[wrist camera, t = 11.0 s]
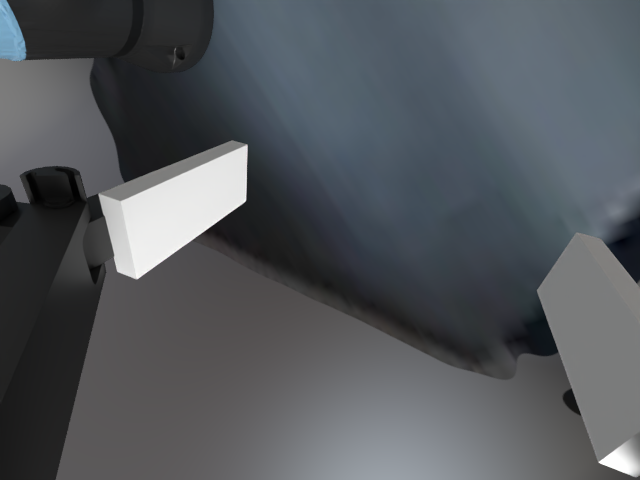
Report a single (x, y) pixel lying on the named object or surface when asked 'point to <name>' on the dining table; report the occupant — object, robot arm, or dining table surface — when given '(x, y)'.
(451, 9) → the dining table surface
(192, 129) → the dining table surface
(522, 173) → the dining table surface
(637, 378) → the robot arm
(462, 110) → the dining table surface
